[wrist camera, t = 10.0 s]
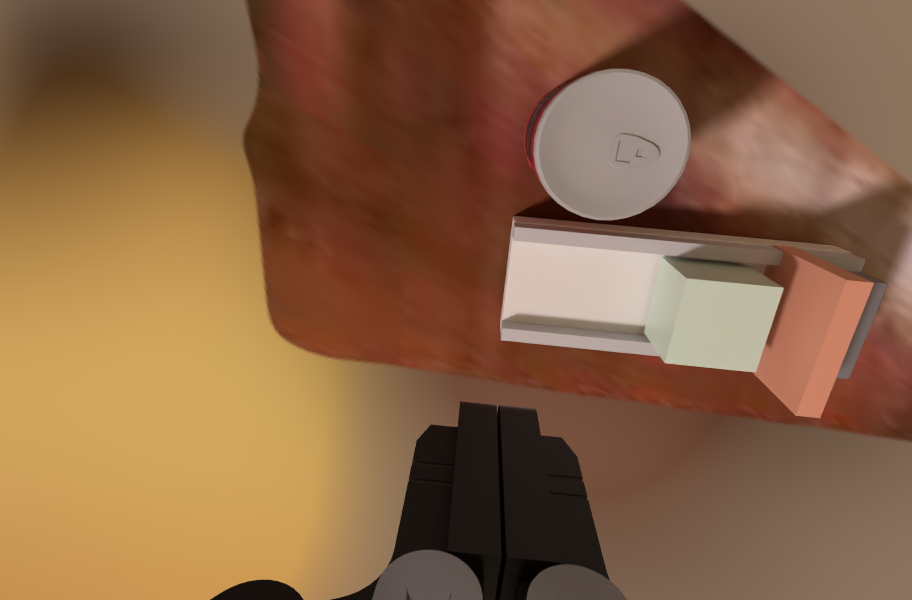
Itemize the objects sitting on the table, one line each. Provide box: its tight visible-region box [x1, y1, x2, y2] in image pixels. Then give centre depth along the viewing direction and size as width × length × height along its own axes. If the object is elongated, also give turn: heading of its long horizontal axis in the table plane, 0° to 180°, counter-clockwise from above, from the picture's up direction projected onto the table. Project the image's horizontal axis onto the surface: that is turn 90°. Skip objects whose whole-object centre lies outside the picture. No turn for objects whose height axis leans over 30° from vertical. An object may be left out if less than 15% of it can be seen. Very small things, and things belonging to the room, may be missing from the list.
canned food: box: [524, 68, 691, 220], centre depth 31 cm, size 8×8×11 cm
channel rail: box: [500, 216, 888, 418], centre depth 35 cm, size 24×9×10 cm, turn 86°
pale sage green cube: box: [644, 257, 784, 372], centre depth 35 cm, size 6×6×5 cm
